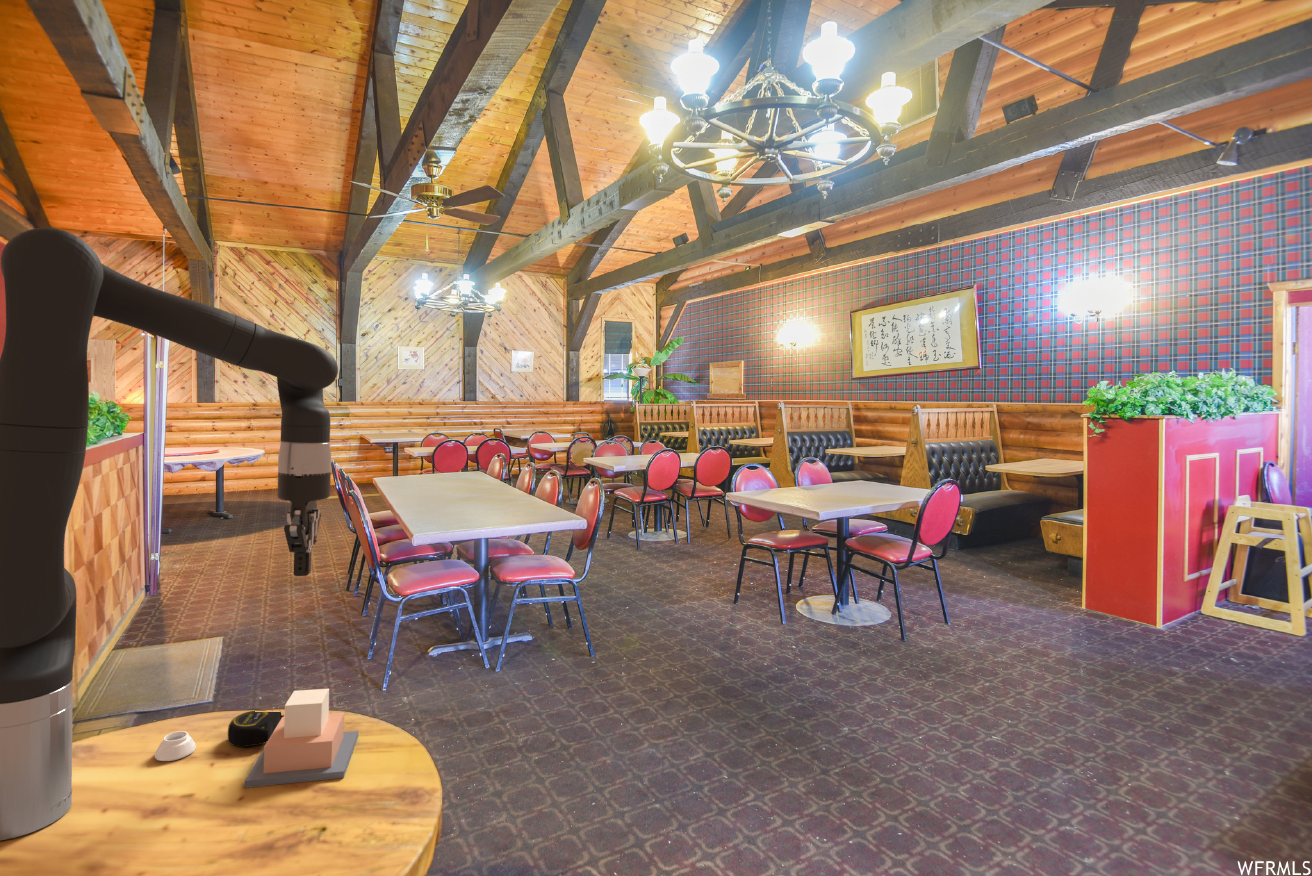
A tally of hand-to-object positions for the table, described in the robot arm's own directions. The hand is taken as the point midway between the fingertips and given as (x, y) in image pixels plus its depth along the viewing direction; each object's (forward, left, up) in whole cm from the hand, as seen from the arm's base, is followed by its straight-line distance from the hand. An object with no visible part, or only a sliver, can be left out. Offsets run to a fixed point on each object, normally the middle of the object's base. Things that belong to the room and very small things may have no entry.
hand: (302, 574), depth 104 cm
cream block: (+3, -8, -22) cm, 24 cm away
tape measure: (-6, 0, -27) cm, 28 cm away
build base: (+3, -8, -27) cm, 28 cm away
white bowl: (-16, -2, -27) cm, 32 cm away
